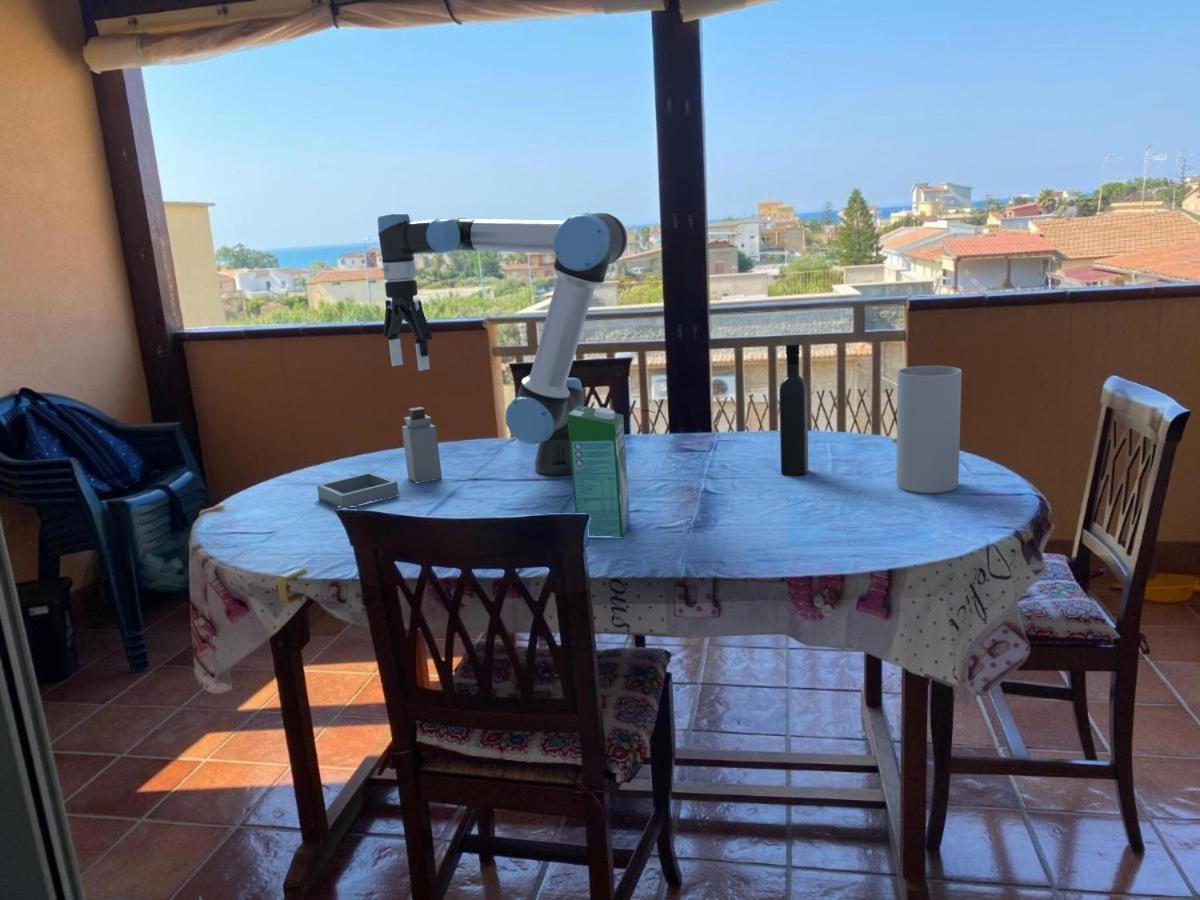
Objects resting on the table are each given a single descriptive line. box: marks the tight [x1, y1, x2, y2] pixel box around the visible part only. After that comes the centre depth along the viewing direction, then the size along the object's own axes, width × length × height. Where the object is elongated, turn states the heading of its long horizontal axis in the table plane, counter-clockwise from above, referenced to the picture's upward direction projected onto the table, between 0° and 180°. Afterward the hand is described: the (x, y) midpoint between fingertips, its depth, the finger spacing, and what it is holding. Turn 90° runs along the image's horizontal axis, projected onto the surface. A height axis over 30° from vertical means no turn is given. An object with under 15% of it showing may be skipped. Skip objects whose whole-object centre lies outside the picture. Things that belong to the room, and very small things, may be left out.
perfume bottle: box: [401, 406, 443, 484], centre depth 226 cm, size 7×7×18 cm
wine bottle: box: [778, 343, 809, 476], centre depth 207 cm, size 6×6×30 cm
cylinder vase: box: [895, 365, 962, 495], centre depth 190 cm, size 12×12×25 cm
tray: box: [316, 472, 400, 509], centre depth 215 cm, size 14×14×4 cm
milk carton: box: [568, 405, 631, 538], centre depth 177 cm, size 9×9×25 cm
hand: (410, 367), depth 222 cm, fingers open, 13 cm apart
